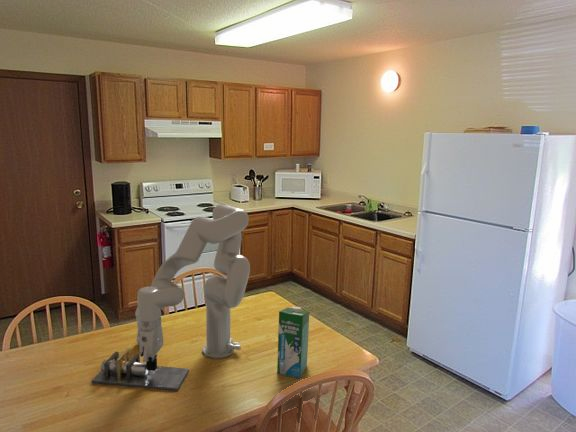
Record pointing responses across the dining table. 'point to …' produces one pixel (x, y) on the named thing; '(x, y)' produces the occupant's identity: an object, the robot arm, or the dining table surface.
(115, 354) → the collar
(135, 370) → the tube
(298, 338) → the milk carton
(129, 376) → the collar
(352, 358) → the dining table surface
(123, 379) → the plate
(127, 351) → the aperture bridge
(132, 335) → the dining table surface
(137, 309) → the plastic bottle
